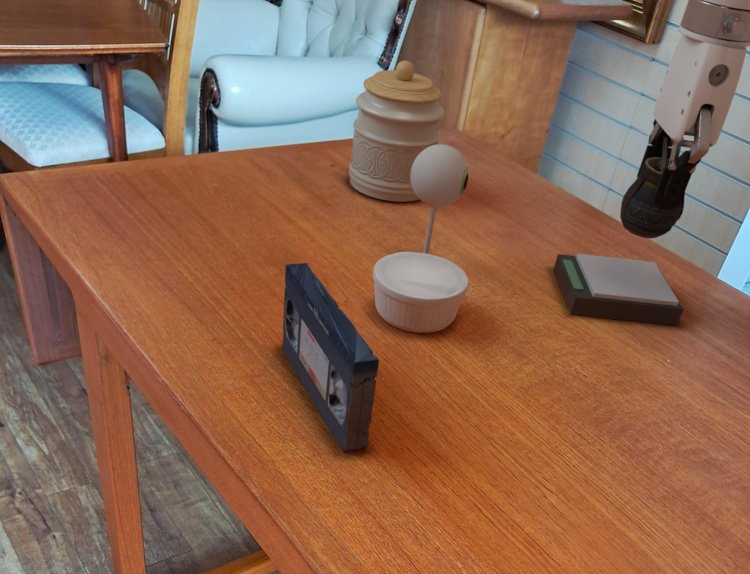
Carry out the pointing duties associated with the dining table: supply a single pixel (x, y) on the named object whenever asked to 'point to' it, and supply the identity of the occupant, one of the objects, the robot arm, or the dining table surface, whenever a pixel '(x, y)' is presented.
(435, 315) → the ramekin
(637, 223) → the mate gourd
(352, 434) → the vhs cassette tape
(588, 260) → the scale
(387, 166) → the jar
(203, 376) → the dining table surface
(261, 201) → the dining table surface
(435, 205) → the lollipop
